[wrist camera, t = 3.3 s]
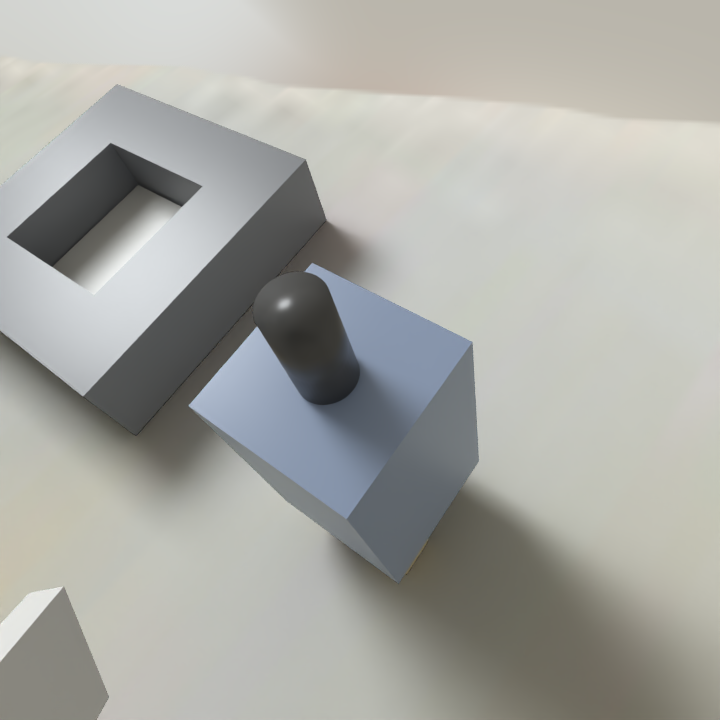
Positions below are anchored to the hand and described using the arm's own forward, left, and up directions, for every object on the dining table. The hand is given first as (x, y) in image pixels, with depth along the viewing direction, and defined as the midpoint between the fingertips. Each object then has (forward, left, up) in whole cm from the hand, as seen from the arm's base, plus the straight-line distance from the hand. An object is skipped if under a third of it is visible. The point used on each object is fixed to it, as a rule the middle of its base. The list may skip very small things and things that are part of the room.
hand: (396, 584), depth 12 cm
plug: (-4, +3, -10) cm, 11 cm away
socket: (-22, +6, -10) cm, 25 cm away
